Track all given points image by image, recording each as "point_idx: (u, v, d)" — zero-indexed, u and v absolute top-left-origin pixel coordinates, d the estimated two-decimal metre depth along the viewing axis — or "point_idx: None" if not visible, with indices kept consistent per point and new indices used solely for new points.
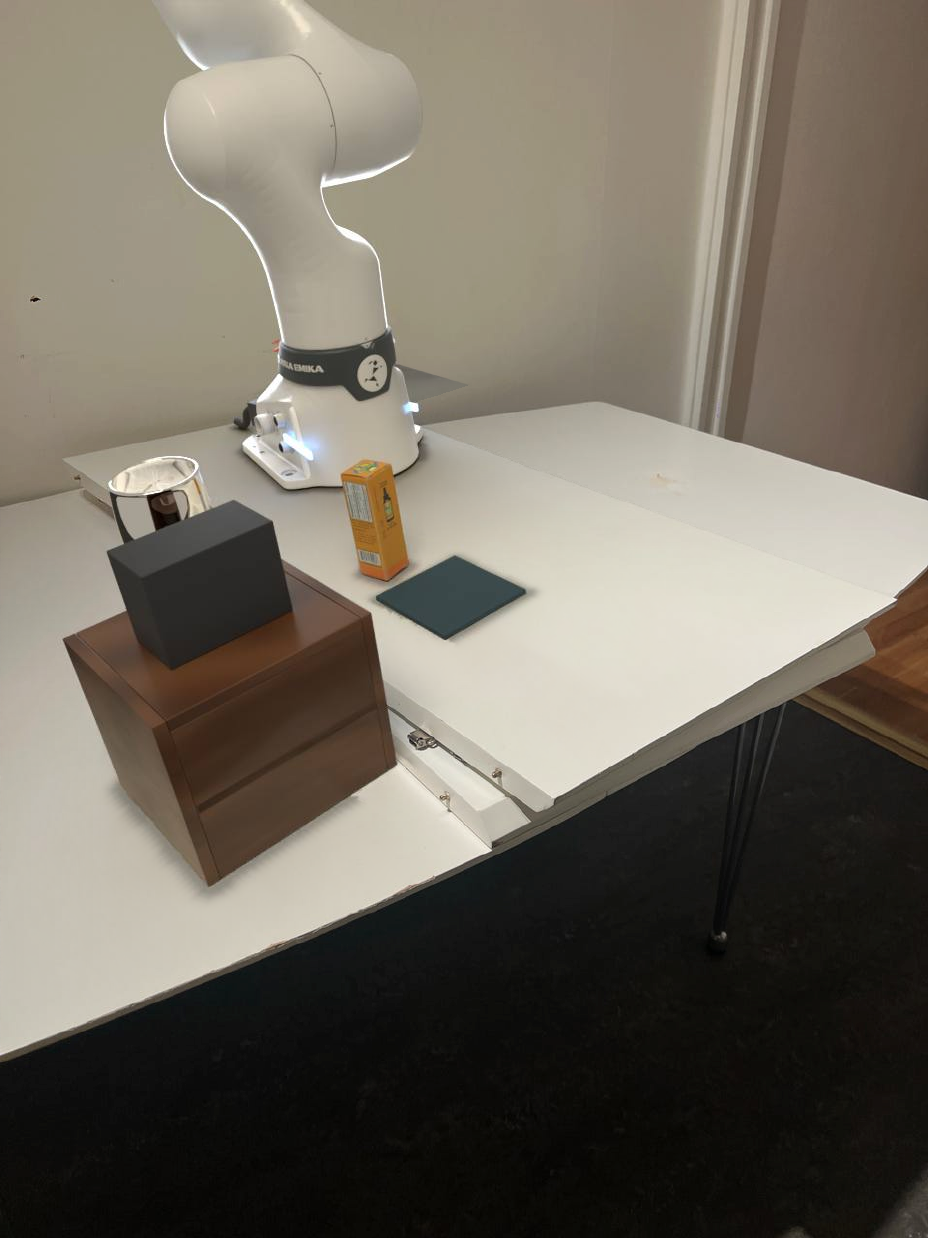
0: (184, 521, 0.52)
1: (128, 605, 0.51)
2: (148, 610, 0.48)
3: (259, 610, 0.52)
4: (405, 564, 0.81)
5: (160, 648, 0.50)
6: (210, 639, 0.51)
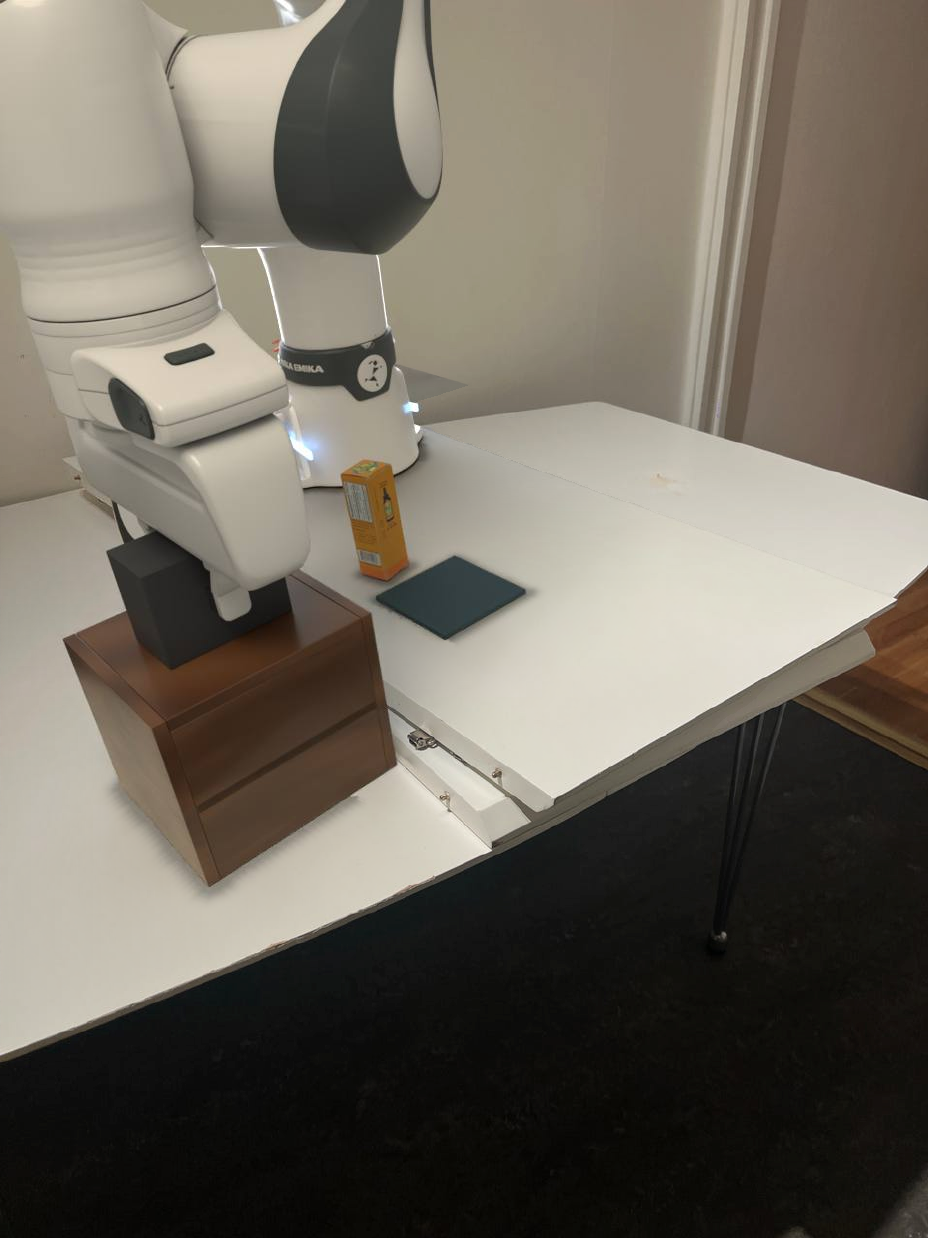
0: None
1: (128, 605, 0.51)
2: (148, 610, 0.48)
3: (259, 610, 0.52)
4: (405, 564, 0.81)
5: (160, 648, 0.50)
6: (210, 639, 0.51)
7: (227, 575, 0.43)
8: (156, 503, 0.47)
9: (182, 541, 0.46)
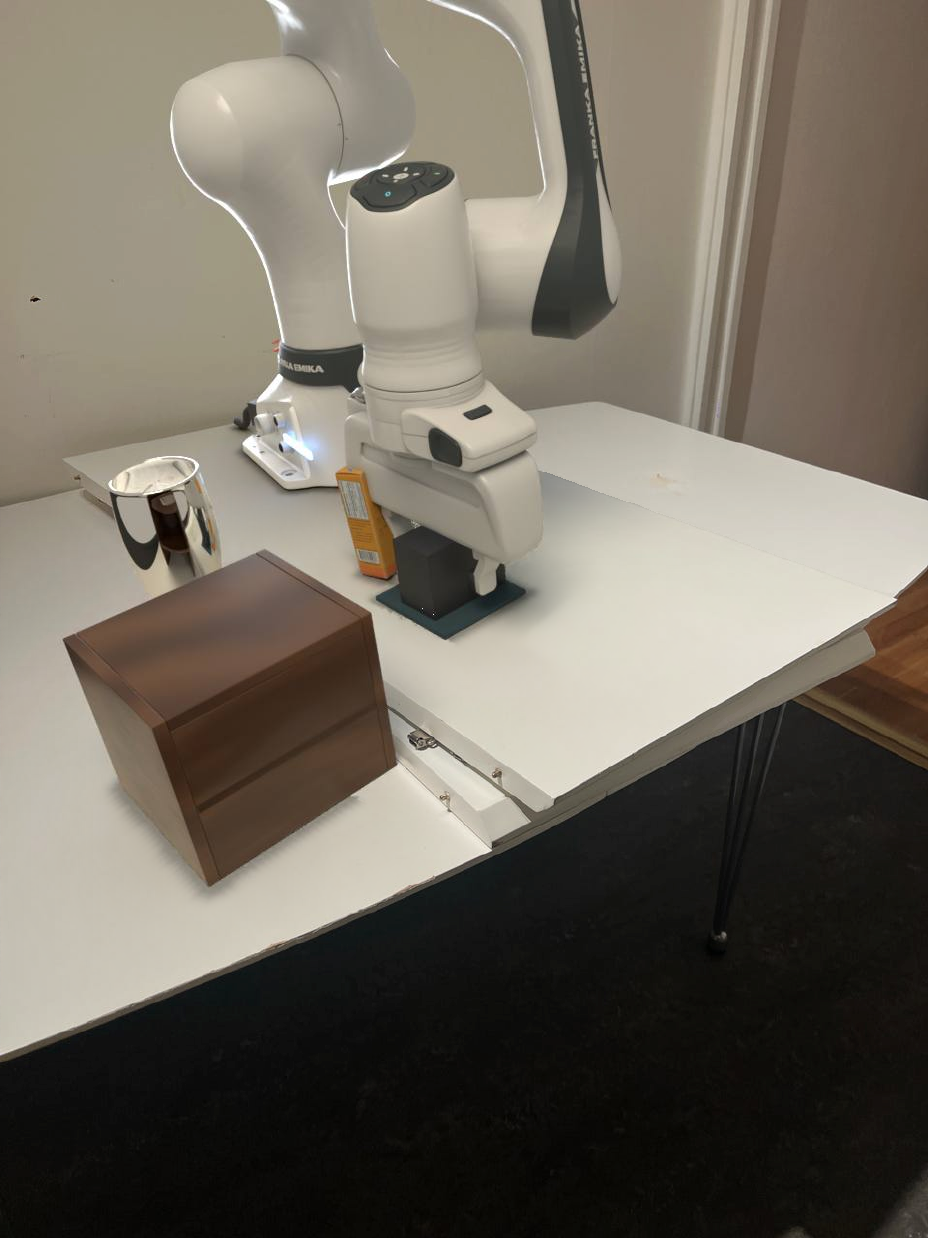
0: None
1: (402, 576, 0.74)
2: (426, 579, 0.71)
3: None
4: None
5: (429, 605, 0.72)
6: (458, 600, 0.74)
7: (488, 554, 0.66)
8: (428, 506, 0.69)
9: (448, 532, 0.69)
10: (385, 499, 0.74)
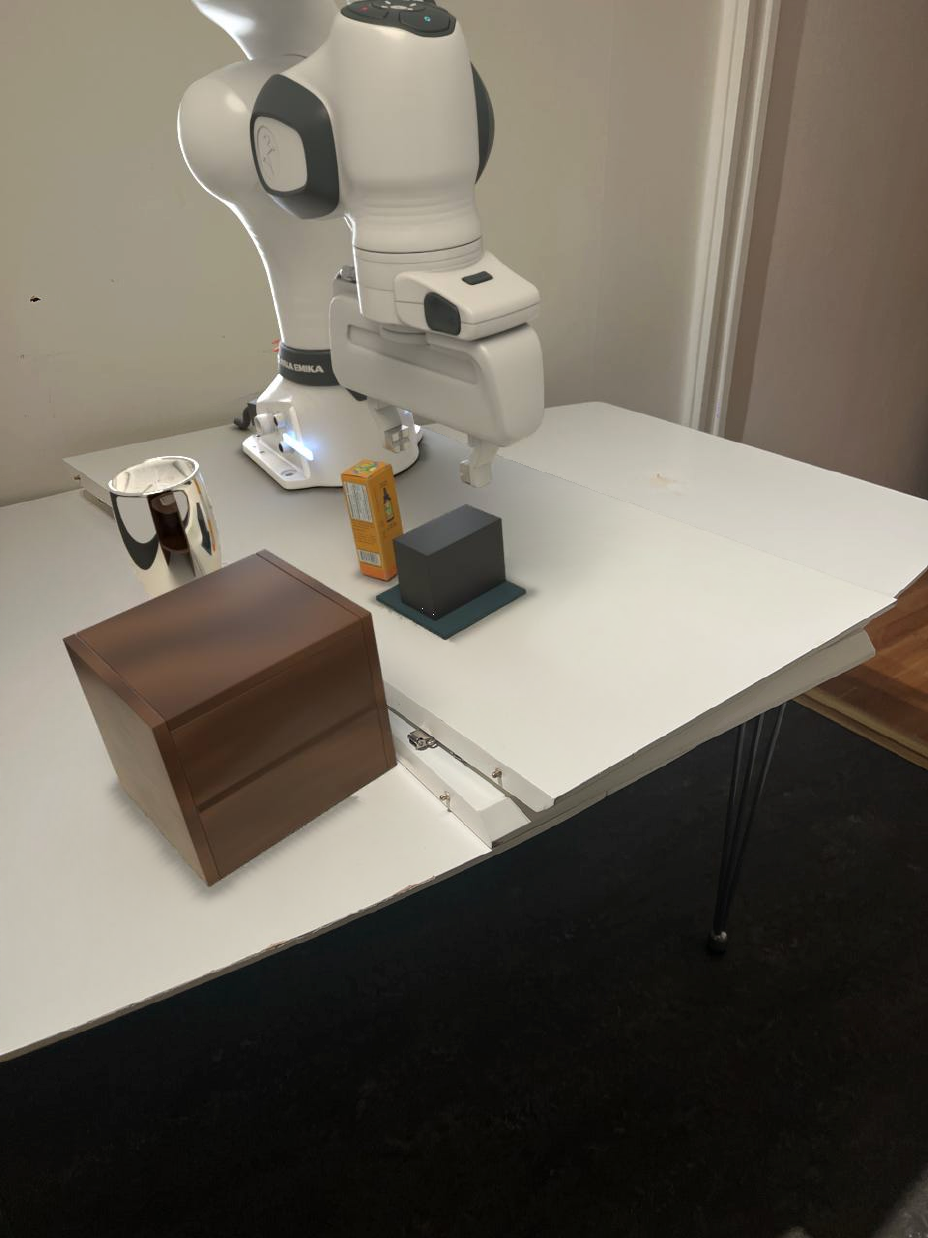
0: (437, 518, 0.75)
1: (402, 576, 0.74)
2: (426, 579, 0.71)
3: (487, 581, 0.75)
4: None
5: (429, 605, 0.72)
6: (458, 600, 0.74)
7: (485, 437, 0.62)
8: (420, 389, 0.65)
9: (441, 416, 0.64)
10: (373, 387, 0.69)
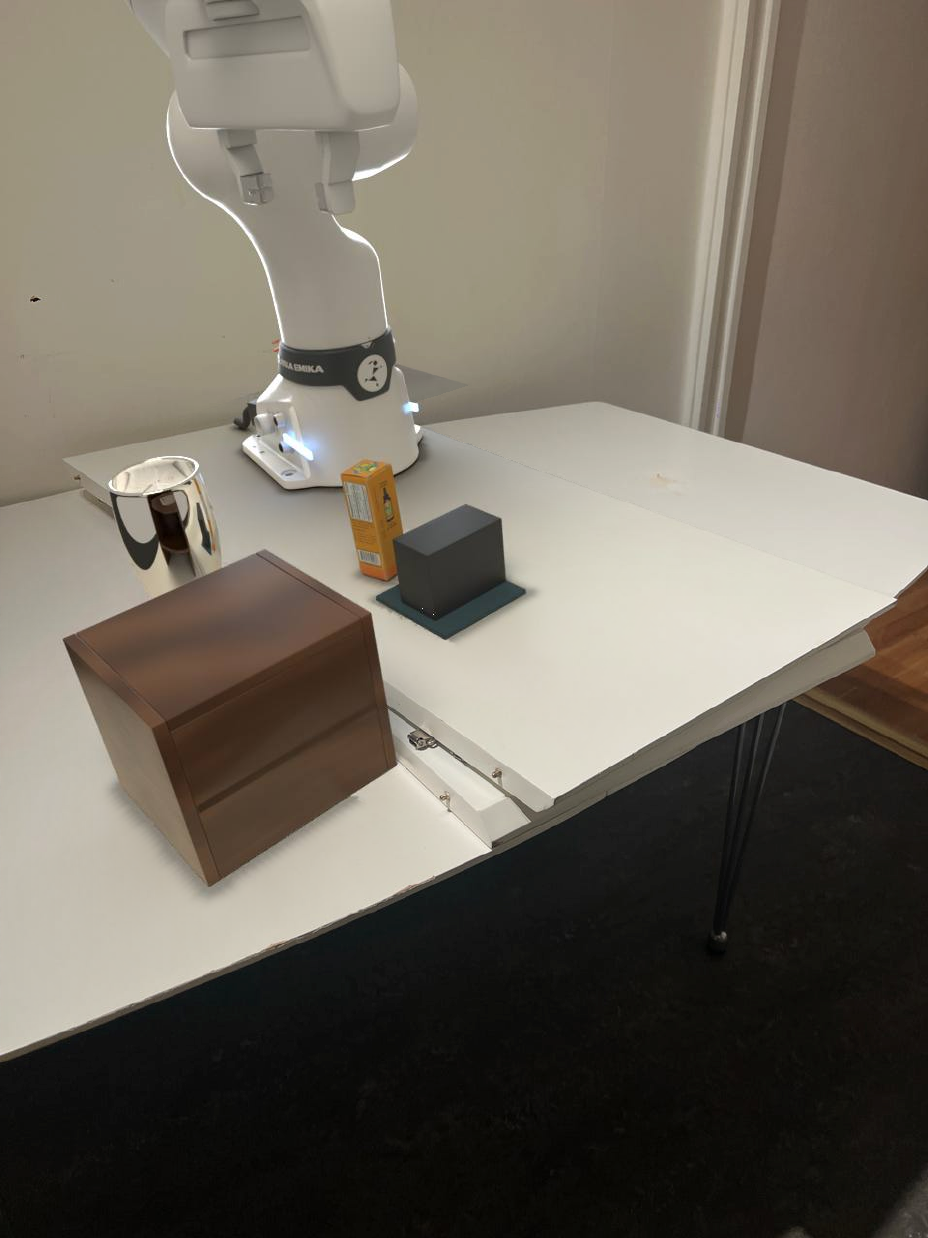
0: (437, 518, 0.75)
1: (402, 576, 0.74)
2: (426, 579, 0.71)
3: (487, 581, 0.75)
4: None
5: (429, 605, 0.72)
6: (458, 600, 0.74)
7: (328, 122, 0.50)
8: (260, 87, 0.53)
9: (284, 116, 0.53)
10: (217, 110, 0.58)
